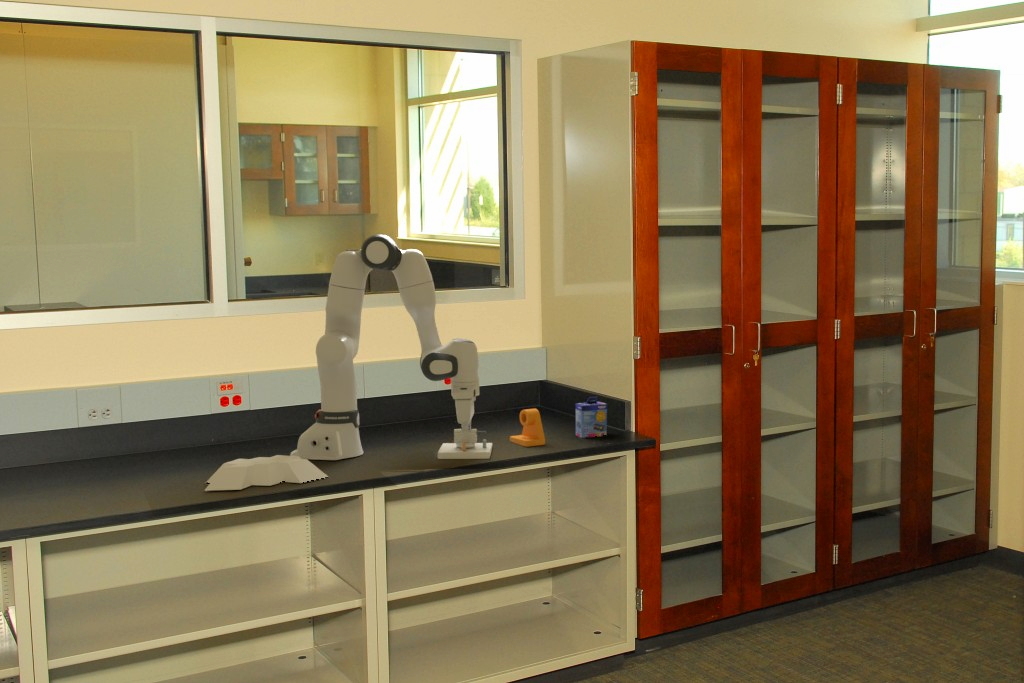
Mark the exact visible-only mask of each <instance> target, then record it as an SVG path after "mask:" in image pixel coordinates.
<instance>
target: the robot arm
mask: <svg viewBox="0 0 1024 683" xmlns="http://www.w3.org/2000/svg"><path fill="white" fill-rule="evenodd" d="M373 270H375V271H390V272H392V273H393V275H394V278H395V280H396V283H397V288H398V292H399V295H400V297H401V301H402V303H403V306H404V308H405V310H406V311H407V313H408V314H409V315H410V317H411V318H412V320H413V323H414V325H415V326H416V332H417V336H418V339H419V342H420V347H421V354H420V360H419V367H420V369H421V372H422V374H423V376H424V377H425V378H426V379H428V380H430V381H432V382H441V381H443V380H449V379H450V390H451V394H450V395H451V397H452V400H454V403H455V405H454V407H455V411H456V412H455V413H456V419H457V423H458V424H459V425H460V424H461V429H462V435H463V436H464V437H465V436H468V435H469V433H468V429H472V418H473V416H474V414H475V402H476V400H477V398H476V397H478V396H480V378H479V373H478V371H479V365H480V364H479V351H478V348H477V345H476V344H475V342H473V341H472V340H470V339H467V338H466V339H465V338H453V339H451V340H450V341H449V342H448V343H446V344H445V345H442V343H441V340H440V336H439V332H438V328H437V323H436V319H435V311H436V304H437V299H436V298H437V296H436V289H435V283H434V279H433V275H432V272H431V270H430V267H429V263H428V262H427V260H426V258H425V255H424V254H423V252H422V251H420V250H419V249H413V248H409V249H405V250H403V249H400V248H399V246H398V243H397V242H396V241H395V239H393V238H392V236H390V235H387V234H384V233H376V234H372V235H370V236H369V237H367V238H366V239H365V240H364V241H363V242H362V244H361V247H360V249H359V250H357V251H356V250H354V251H353V250H345V251H342V252H340V253H339V254H338V255H337V256H336V258H335V260H334V263H333V266H332V269H331V274H330V279H329V284H328V290H327V298H326V304H325V330H324V334H323V335H322V336H321V337H320V338H319V339H318V341H317V342H316V346H315V355H316V364H317V371H318V377H319V383H320V401H321V403H320V406H321V407H320V408H321V409H318V410H317V411H316V412H315V414H314V420H315V423H313V424H312V425H311V426H310V427H308V429H307V430H305V431H304V432H303V433H302V434H300V436H299V438H298V440H297V446H296V447H297V448H296V449H295V450H293V451H291V452H290V455H289V456H299V457H300V458H301V459H307V460H316V461H317V460H322V461H339V460H342V459H349V458H354V457H355V458H356V457H359V456H362V455H364V449H363V447H362V442H361V437H360V430H359V427H360V413H359V409H358V394H357V393H358V392H357V382H356V376H355V368H354V359H355V358H356V356H357V354H358V351H359V344H360V336H361V323H362V322H361V321H362V320H361V319H362V310H363V305H364V298H365V292H366V291H365V290H366V286H367V285H366V284H367V279H368V275H369V274H370V272H372V271H373Z"/></svg>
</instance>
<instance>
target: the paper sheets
mask: <svg viewBox="0 0 1024 683" xmlns="http://www.w3.org/2000/svg"><path fill="white" fill-rule="evenodd" d="M325 477H329V476H328V474H326V473H324V471H322V470H321V469H320V468H319V467H317V466H316V465H315V464H314V463H312V462H311V461H309V459H301V458H300V457H299V456H290V455H282V454H276V455H273V456H270V457H269V456H268V457H267V456H258V457H253V458H249V459H248V458H237V459H234V460H231V461H227V462H224V463H222V465H221V466H220V467H218V469H217V470H216V471H215V472H214V473H213V474H212V475H211V476H210V477H209V478H208V479H207V481H206V482H208V483H210V484H207V487H206V488H205V489H204V491H205V492H207V491H233V490H234V491H235V490H239V491H240V490H243V489H246V488H248V487H251V486H267V487H268V486H273V485H277V484H280V482H281V483H283V482H282V481H285V483H294V484H295V483H296V484H303V482H304V483H307V481H309V482H312V481H311V480H314V481H317V480H316V479H319V480H322V479H321V478H324V479H326V478H325Z"/></svg>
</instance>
